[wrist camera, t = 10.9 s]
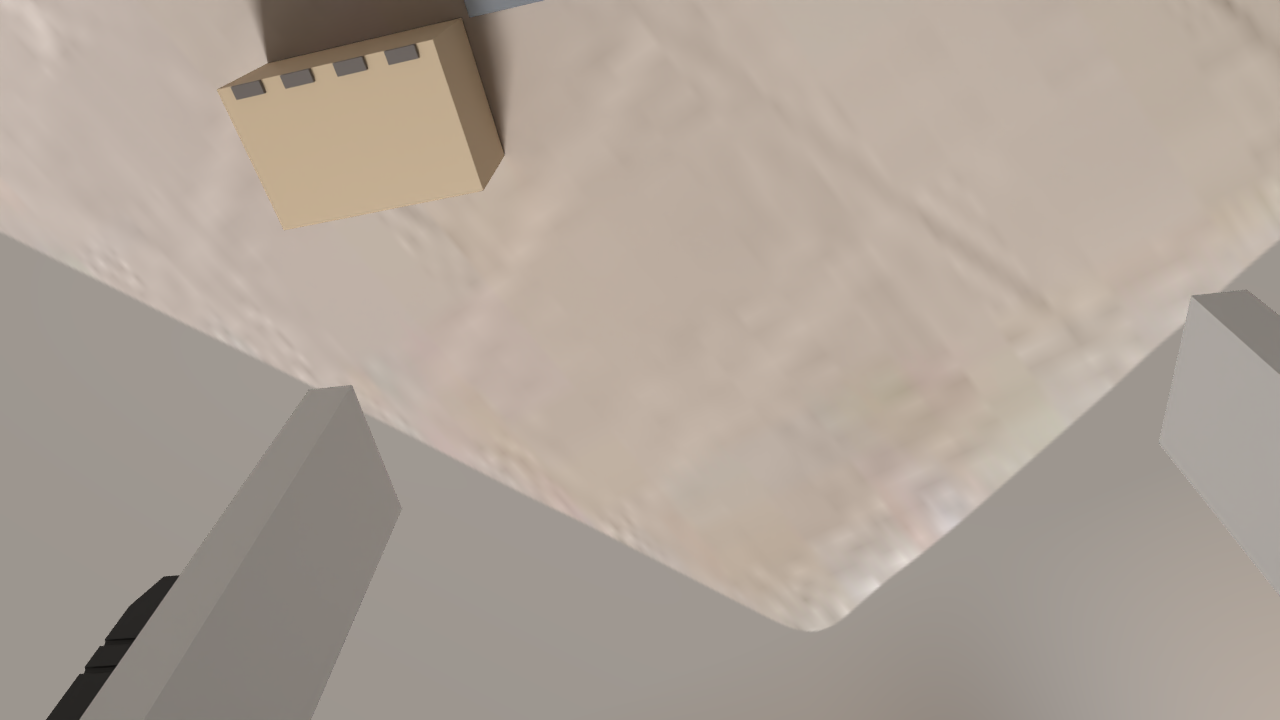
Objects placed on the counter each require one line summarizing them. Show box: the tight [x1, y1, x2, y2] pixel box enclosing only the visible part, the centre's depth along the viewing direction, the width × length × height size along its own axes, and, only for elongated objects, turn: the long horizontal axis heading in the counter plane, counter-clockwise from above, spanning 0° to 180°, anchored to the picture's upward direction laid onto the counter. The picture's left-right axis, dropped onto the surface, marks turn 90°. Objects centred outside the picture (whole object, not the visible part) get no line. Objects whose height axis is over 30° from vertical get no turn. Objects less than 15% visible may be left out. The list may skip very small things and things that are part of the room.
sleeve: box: [217, 18, 504, 230], centre depth 35 cm, size 9×6×5 cm, turn 103°
